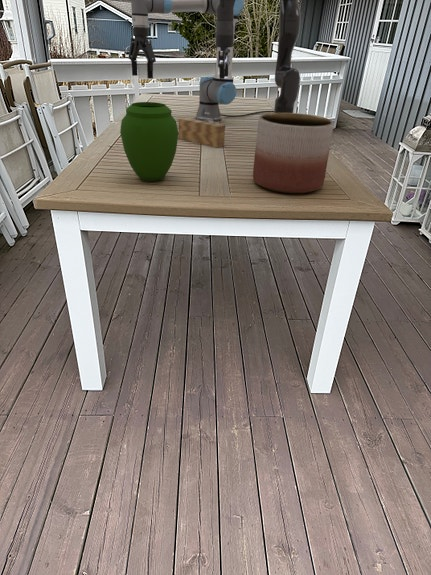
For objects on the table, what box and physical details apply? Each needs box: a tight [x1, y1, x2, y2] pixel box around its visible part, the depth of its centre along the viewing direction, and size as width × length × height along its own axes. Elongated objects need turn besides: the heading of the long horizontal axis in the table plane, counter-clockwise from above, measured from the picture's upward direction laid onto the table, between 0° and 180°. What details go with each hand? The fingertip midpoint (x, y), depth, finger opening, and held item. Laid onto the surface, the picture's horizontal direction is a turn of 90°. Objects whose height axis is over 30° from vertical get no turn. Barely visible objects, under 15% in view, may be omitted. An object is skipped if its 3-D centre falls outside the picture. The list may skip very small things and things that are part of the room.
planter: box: [252, 112, 335, 194], centre depth 142 cm, size 25×25×22 cm
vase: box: [119, 101, 179, 182], centre depth 140 cm, size 20×20×24 cm
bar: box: [177, 117, 226, 149], centre depth 195 cm, size 25×5×9 cm, turn 52°
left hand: (142, 77), depth 205 cm, fingers open, 13 cm apart
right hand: (223, 77), depth 179 cm, fingers open, 8 cm apart
